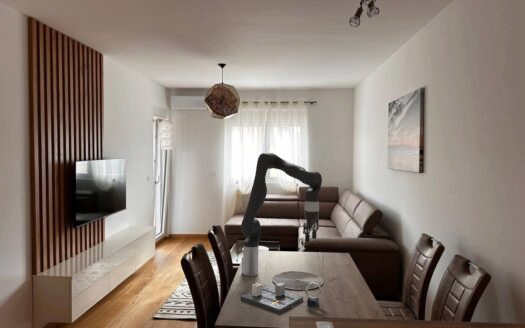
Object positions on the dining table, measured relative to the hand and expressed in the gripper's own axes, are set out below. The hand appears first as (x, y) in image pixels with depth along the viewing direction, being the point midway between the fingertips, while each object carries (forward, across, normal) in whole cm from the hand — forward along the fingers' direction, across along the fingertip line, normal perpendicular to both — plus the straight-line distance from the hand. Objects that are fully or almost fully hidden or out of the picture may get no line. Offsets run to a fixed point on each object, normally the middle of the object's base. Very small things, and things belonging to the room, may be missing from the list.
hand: (310, 240), depth 195 cm
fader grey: (+26, +16, -9) cm, 31 cm away
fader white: (+26, +23, -18) cm, 39 cm away
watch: (+28, +13, +8) cm, 32 cm away
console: (+28, +20, -11) cm, 36 cm away
